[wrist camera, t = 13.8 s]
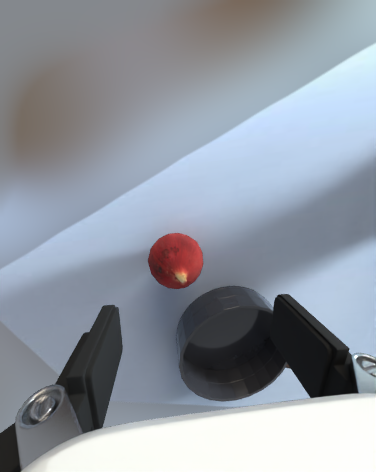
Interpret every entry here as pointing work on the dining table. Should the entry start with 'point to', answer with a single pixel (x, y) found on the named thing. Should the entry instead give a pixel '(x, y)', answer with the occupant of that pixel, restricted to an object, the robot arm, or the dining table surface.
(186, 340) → the pan
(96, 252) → the dining table surface
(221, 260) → the dining table surface
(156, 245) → the onion
